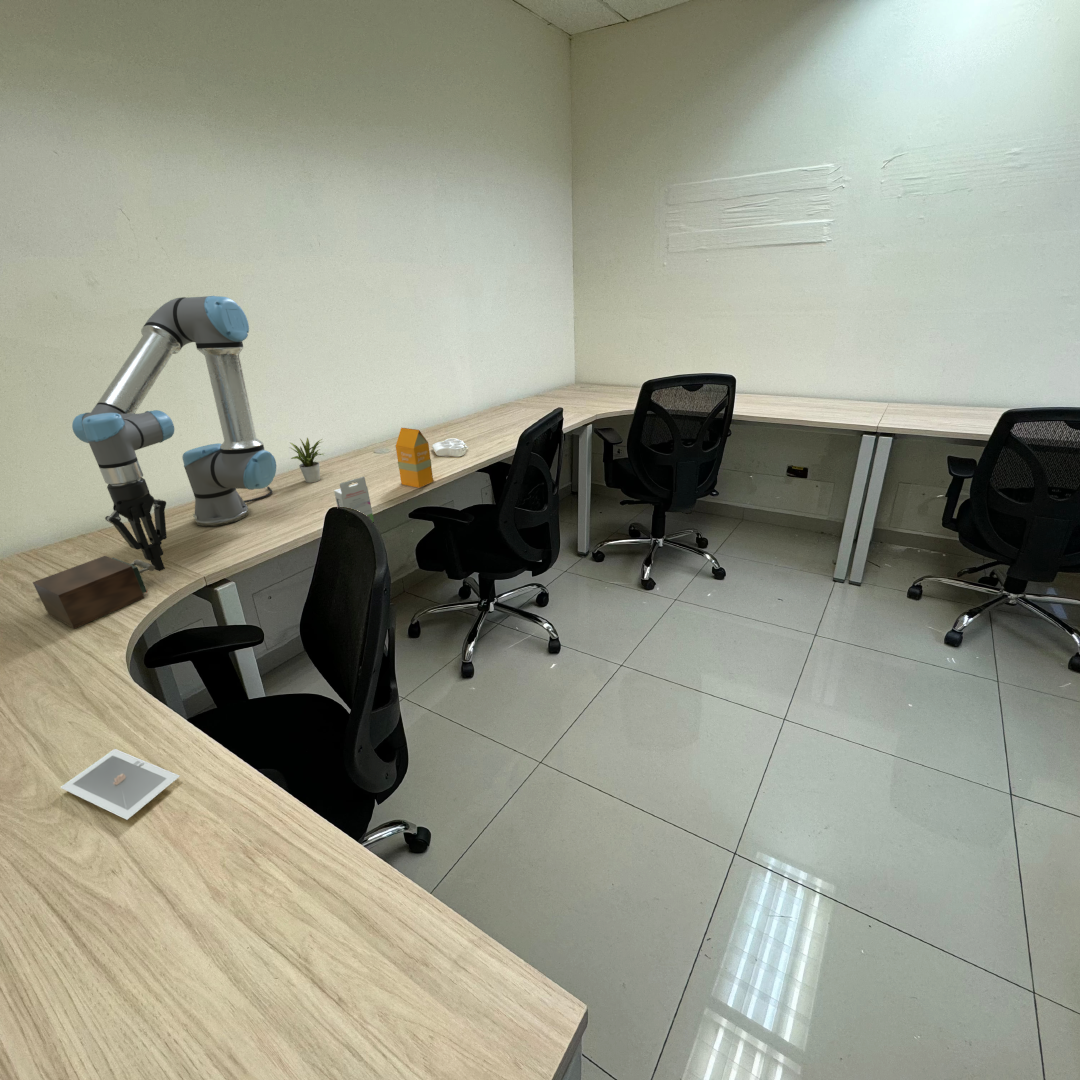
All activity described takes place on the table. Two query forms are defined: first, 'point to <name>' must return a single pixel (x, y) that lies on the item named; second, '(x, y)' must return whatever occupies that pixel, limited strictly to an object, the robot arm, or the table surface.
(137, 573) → the drawer
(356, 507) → the ink box
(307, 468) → the house plant
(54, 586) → the cabinet
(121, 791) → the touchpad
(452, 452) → the white flat lumpy piece
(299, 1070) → the table surface
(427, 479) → the orange juice
